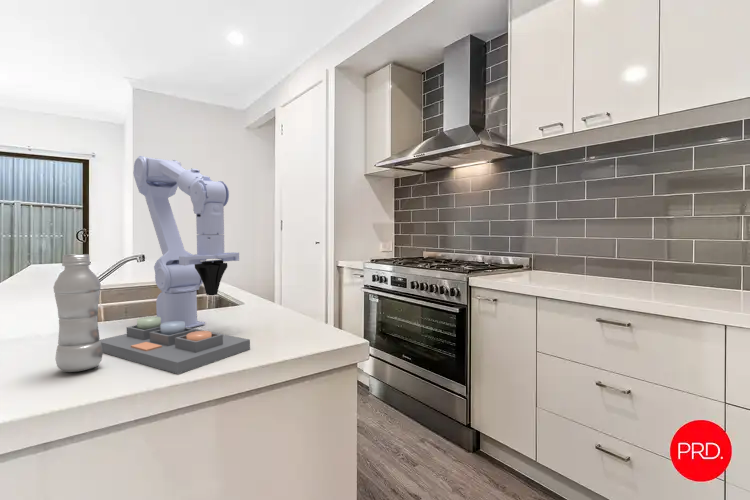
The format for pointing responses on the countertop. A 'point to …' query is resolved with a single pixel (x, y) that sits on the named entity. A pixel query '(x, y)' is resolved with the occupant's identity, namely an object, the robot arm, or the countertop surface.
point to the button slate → (172, 327)
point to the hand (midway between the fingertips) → (211, 294)
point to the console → (172, 348)
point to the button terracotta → (198, 335)
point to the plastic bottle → (77, 315)
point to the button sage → (148, 323)
